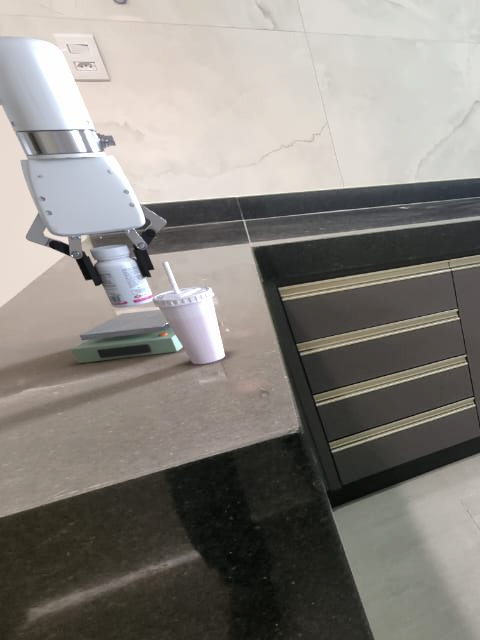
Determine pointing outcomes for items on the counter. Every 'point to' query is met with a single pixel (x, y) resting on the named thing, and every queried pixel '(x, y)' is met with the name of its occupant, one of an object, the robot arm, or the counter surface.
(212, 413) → the counter surface
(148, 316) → the pan
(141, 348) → the scale
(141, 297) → the pill bottle
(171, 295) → the smoothie
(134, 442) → the counter surface
